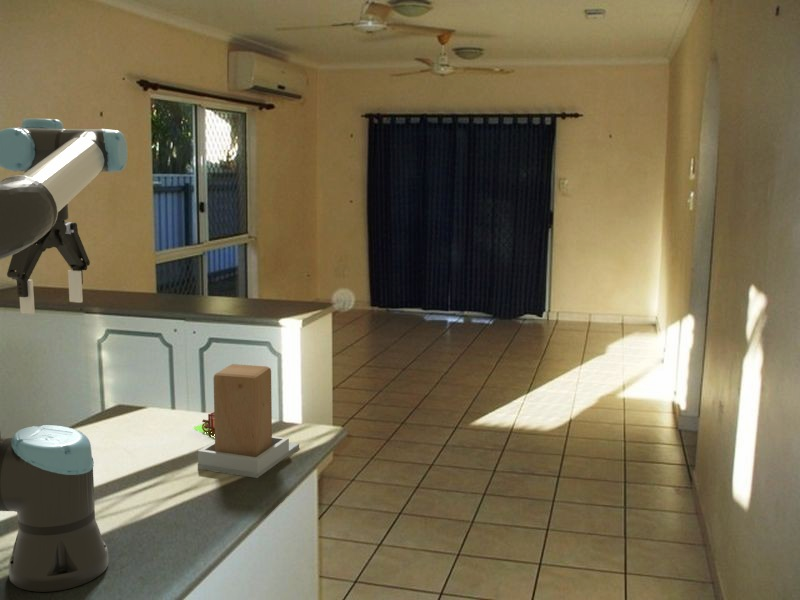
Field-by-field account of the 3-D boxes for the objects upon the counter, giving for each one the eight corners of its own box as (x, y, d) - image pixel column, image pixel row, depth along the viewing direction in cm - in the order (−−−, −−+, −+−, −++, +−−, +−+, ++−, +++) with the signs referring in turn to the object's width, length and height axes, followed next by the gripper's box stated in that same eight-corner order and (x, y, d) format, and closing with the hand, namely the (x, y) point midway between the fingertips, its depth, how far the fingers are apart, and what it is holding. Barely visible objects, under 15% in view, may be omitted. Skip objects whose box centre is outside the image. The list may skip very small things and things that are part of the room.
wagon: (227, 447, 202) (227, 421, 201) (176, 437, 208) (176, 412, 207) (264, 428, 215) (263, 405, 214) (215, 420, 221) (215, 396, 220)
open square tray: (257, 478, 182) (257, 455, 181) (197, 468, 186) (197, 446, 185) (299, 447, 200) (298, 427, 199) (243, 440, 205) (243, 419, 204)
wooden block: (257, 467, 185) (255, 377, 181) (213, 463, 187) (211, 373, 183) (273, 451, 194) (272, 365, 191) (232, 448, 196) (230, 362, 193)
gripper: (14, 204, 154) (21, 320, 158) (104, 197, 178) (109, 298, 181) (-19, 202, 157) (-11, 317, 161) (74, 196, 180) (79, 296, 184)
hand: (52, 307), depth 171 cm, fingers open, 13 cm apart
